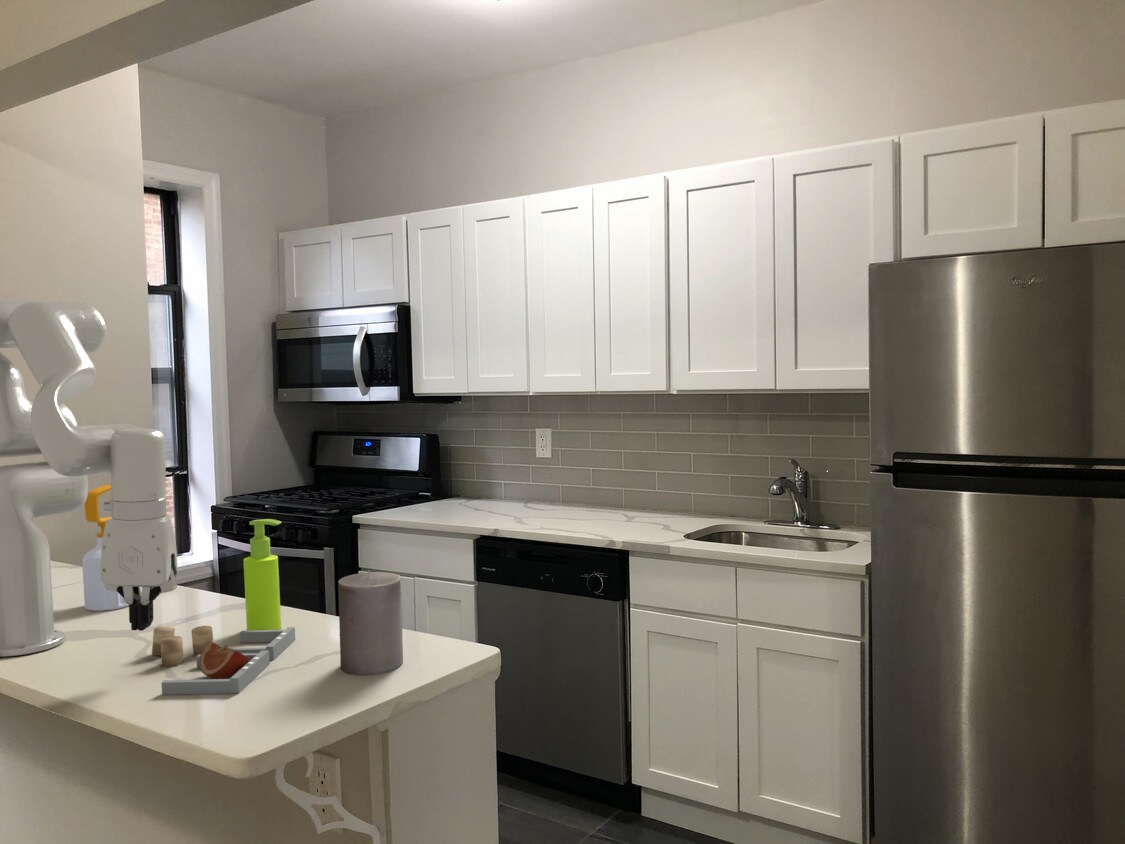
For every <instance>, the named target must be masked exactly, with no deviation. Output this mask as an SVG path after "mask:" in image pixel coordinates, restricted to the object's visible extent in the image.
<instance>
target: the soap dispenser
mask: <svg viewBox="0 0 1125 844" xmlns="http://www.w3.org/2000/svg"><path fill="white" fill-rule="evenodd" d="M282 522H283V521H280V520H277V519H272V518H264V519H263V518H262V519H254V520H251V521H249V522H248V523H249V524H248V525H250V526H253V527H254V536H253V537H252V538H250V539H249V545H250V551H249V552H250V556H248V557H245V558H243V577H244V598H245V600H244V601H245V616H246V617H245V618H246V620H245V621H246V631H247V630H282V620H281V619H282V617H281V615H282V613H281V597H280V596H281V595H280V594H281V593H280V591H281V590H280V575H279V556H278V555H276V554H275V555H274V554H272V553H271V538H270V537H269V536H267V535H265V532H266V531H265V525H269V526H273V527H275V526H278V525H280V524H282Z"/></svg>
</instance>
